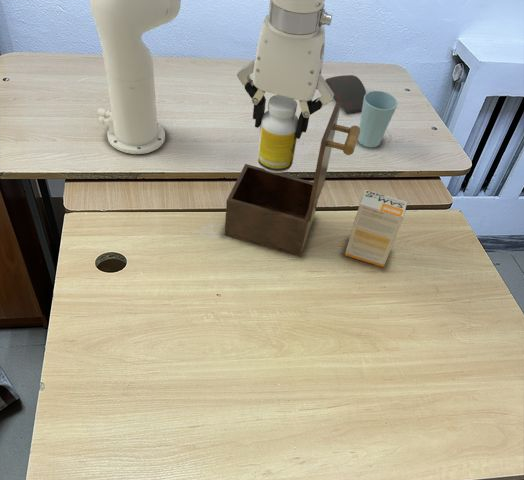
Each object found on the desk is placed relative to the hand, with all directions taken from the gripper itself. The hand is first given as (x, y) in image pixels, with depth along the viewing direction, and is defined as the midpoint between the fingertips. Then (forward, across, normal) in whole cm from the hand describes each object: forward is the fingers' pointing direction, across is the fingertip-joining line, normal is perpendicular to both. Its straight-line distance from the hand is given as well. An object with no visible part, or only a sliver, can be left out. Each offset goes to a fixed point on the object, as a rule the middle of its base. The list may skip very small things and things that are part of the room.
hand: (279, 127), depth 91 cm
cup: (+22, -15, -38) cm, 46 cm away
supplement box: (+22, -21, 0) cm, 30 cm away
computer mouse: (+22, -6, -54) cm, 58 cm away
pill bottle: (+7, 0, 0) cm, 7 cm away
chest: (+22, -1, 0) cm, 22 cm away
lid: (+4, -8, 0) cm, 9 cm away
